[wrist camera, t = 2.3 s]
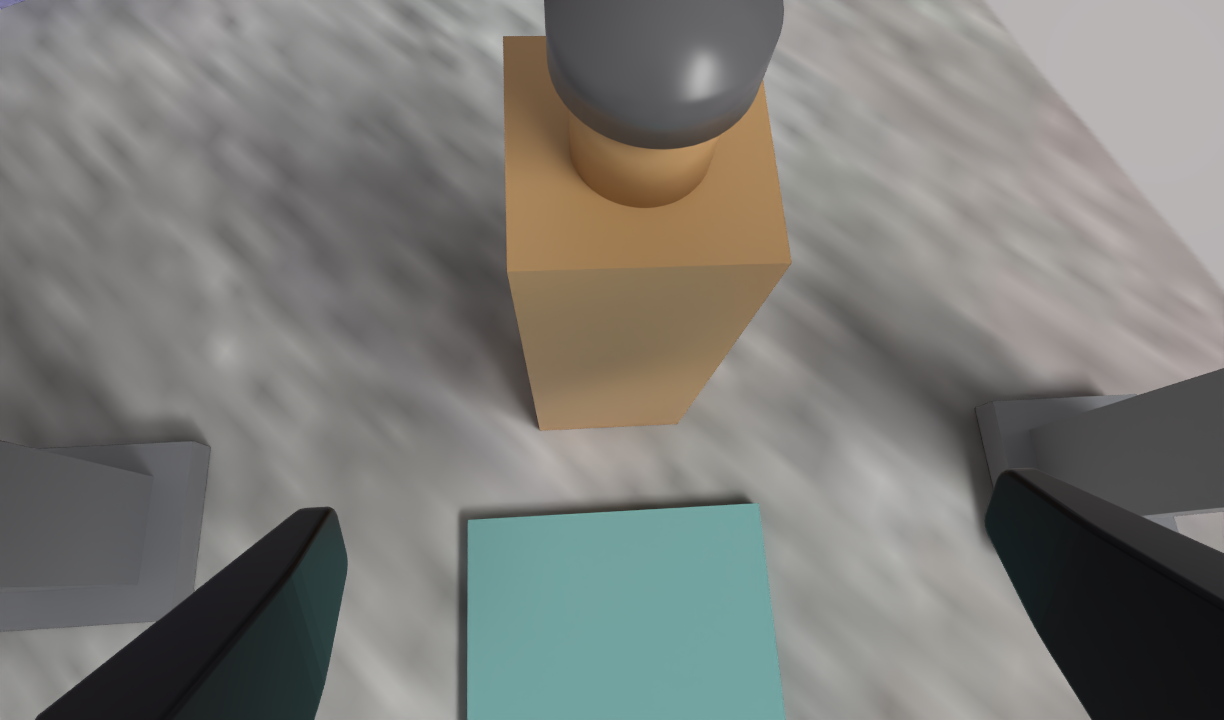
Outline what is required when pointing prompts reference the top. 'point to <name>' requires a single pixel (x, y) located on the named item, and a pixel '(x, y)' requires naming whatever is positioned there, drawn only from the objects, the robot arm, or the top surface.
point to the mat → (622, 617)
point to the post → (98, 532)
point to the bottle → (639, 201)
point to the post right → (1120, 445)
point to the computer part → (8, 3)
